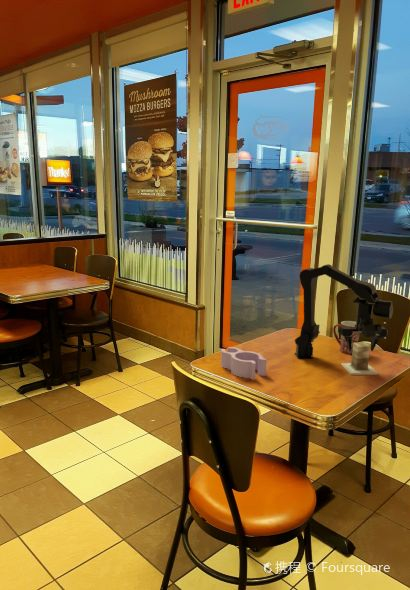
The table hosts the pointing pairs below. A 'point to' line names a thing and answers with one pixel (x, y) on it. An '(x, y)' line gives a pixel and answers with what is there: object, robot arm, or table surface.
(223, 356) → the clip
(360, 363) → the walnut cube
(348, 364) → the plate
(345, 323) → the mug
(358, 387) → the table surface
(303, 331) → the robot arm
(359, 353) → the maple cube
